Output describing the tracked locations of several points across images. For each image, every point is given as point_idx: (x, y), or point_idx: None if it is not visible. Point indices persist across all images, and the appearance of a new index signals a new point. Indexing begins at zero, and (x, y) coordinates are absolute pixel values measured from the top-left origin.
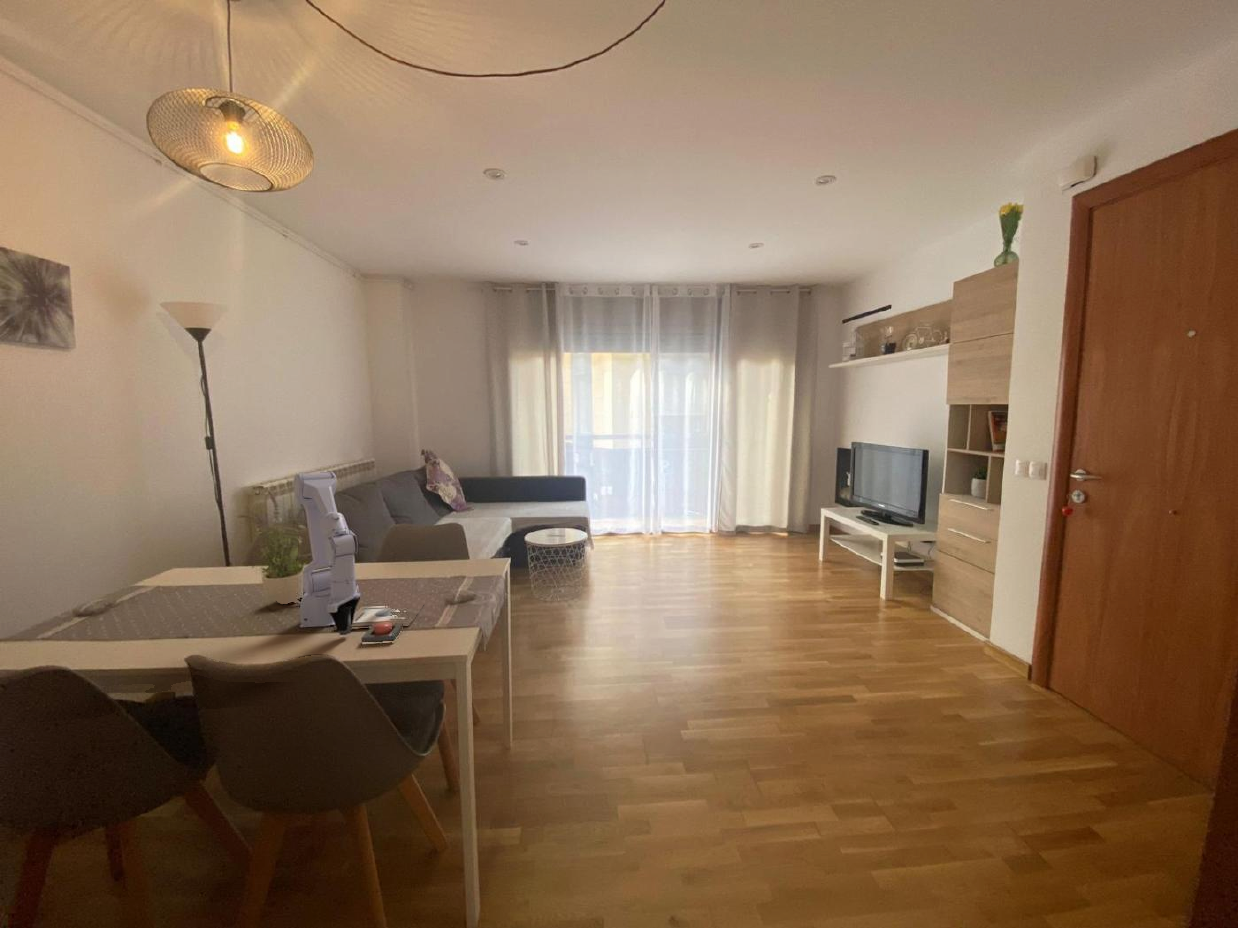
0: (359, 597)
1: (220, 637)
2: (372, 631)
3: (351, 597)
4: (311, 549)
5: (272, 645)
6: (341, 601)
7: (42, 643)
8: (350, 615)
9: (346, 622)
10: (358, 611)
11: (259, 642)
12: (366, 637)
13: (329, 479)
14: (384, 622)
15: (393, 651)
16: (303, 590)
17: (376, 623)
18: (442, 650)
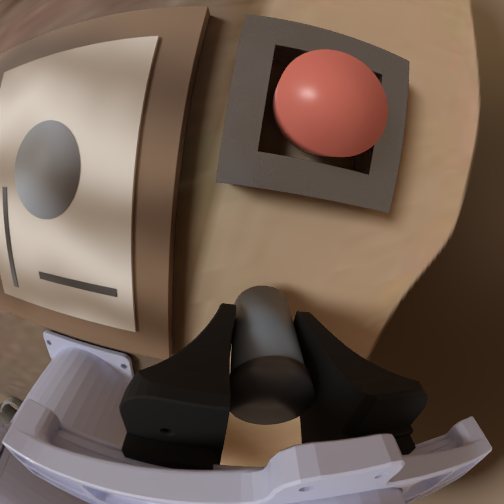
0: (152, 398)
1: None
2: (327, 165)
3: (402, 473)
4: None
5: (252, 445)
6: (460, 465)
7: None
8: (261, 346)
9: (332, 336)
10: (33, 297)
11: (225, 460)
12: (394, 188)
13: None
14: (296, 93)
15: (450, 82)
16: (8, 422)
17: (154, 176)
18: None
